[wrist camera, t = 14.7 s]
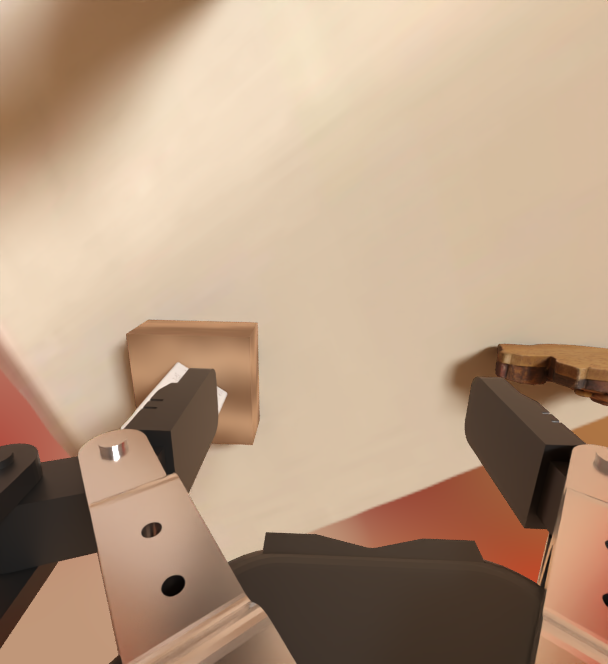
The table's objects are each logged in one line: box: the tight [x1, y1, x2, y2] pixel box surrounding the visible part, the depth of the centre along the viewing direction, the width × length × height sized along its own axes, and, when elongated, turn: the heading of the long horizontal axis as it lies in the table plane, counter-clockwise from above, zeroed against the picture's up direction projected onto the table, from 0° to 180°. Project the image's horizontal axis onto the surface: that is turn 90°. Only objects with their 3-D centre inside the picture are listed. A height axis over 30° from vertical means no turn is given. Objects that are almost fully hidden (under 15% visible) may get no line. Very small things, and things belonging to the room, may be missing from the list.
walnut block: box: [126, 320, 260, 445], centre depth 40 cm, size 12×12×5 cm
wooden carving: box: [495, 344, 608, 406], centre depth 36 cm, size 16×5×10 cm, turn 93°
